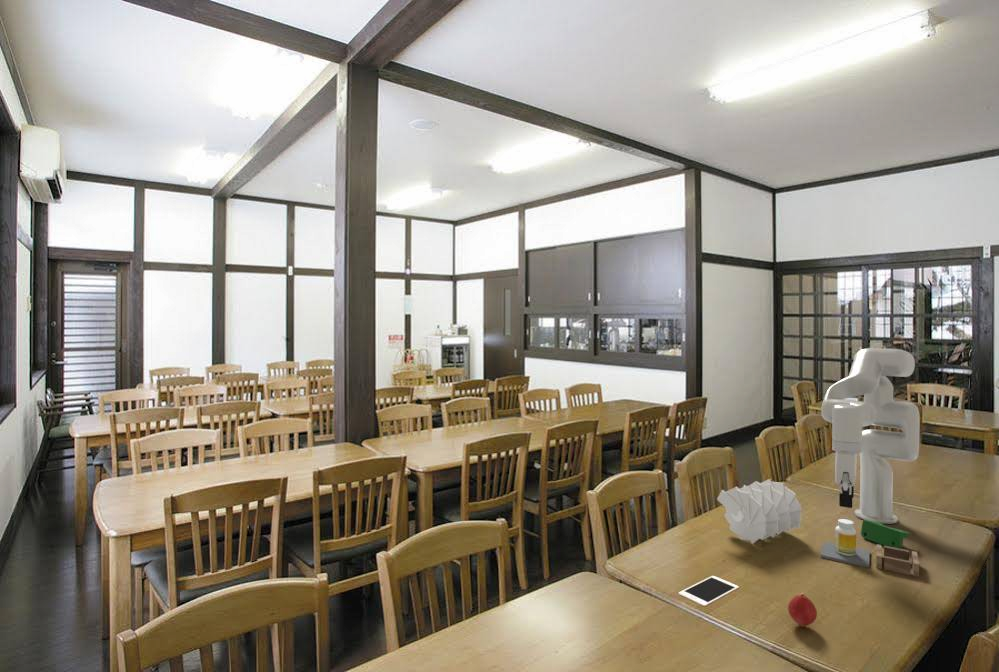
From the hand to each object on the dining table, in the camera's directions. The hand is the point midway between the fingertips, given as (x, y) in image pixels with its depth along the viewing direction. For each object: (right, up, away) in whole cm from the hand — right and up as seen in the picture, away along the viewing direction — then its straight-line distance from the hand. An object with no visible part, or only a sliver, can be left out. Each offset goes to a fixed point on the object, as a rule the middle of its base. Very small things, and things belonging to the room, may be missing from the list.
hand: (846, 501), depth 162 cm
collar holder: (+10, -16, -7) cm, 20 cm away
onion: (-34, -18, -37) cm, 54 cm away
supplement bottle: (0, -16, 0) cm, 16 cm away
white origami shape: (-18, -16, +15) cm, 29 cm away
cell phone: (-50, -18, -20) cm, 56 cm away
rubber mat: (0, -16, 0) cm, 16 cm away
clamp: (+18, -16, +9) cm, 26 cm away
